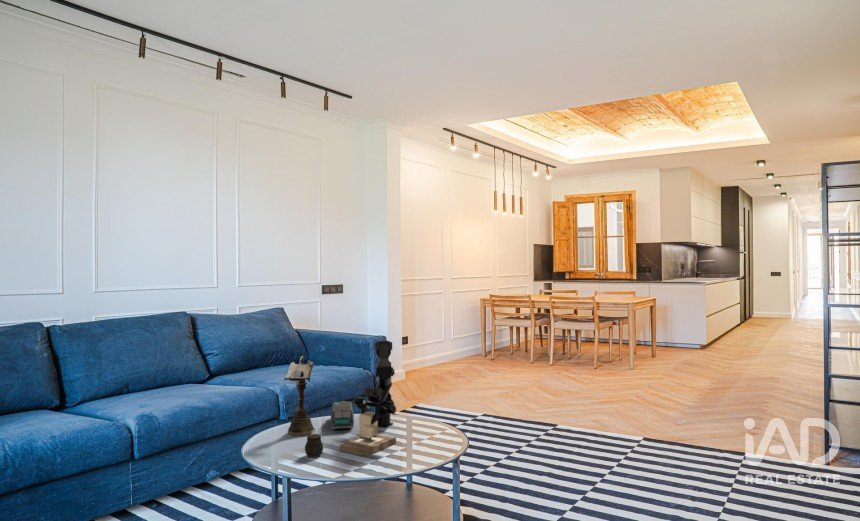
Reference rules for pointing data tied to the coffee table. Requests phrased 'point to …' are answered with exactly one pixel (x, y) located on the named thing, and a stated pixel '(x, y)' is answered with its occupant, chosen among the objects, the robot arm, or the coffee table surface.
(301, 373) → the book stand
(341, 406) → the toy van
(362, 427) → the tan rectangular block
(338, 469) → the coffee table surface
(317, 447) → the mate gourd
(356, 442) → the loading dock
